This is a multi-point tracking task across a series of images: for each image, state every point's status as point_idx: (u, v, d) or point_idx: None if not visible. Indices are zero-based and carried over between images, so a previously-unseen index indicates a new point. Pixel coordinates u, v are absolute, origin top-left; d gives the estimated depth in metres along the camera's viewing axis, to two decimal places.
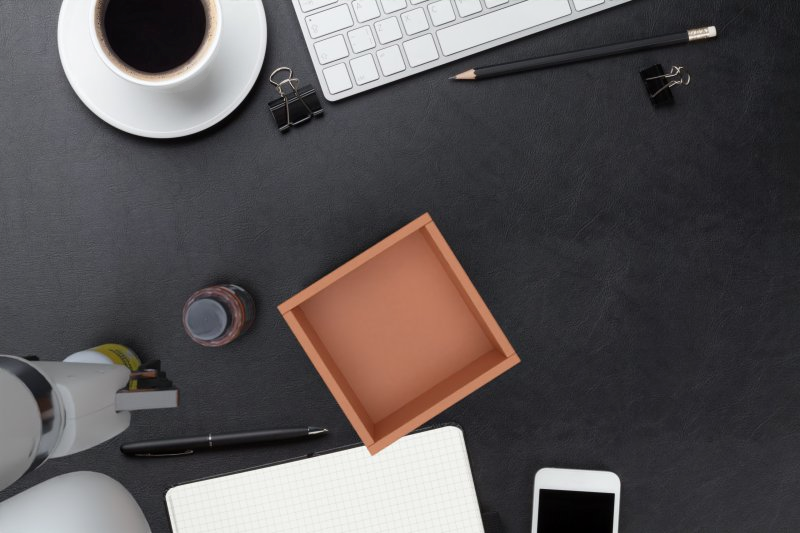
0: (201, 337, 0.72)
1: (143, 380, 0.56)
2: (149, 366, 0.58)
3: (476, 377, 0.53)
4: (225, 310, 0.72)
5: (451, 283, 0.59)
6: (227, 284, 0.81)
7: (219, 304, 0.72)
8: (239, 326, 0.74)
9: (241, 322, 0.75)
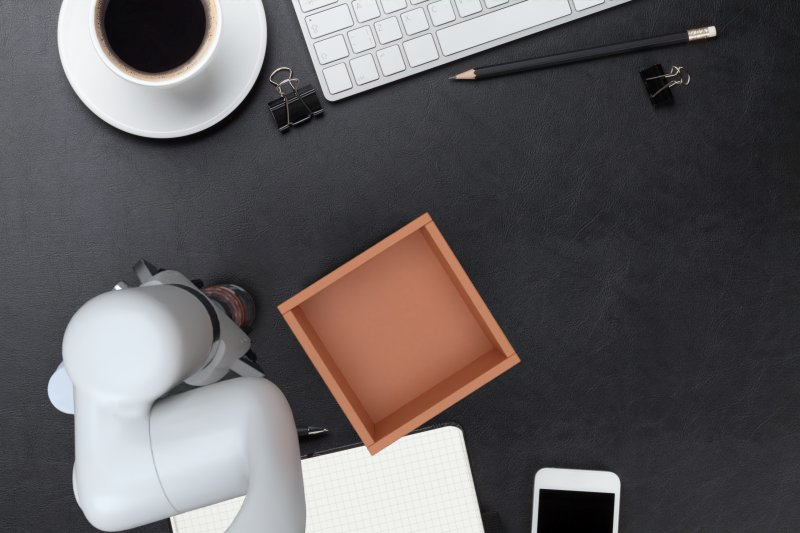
0: None
1: None
2: None
3: (476, 377, 0.53)
4: (225, 310, 0.72)
5: (451, 283, 0.59)
6: (227, 284, 0.81)
7: (219, 304, 0.72)
8: (239, 326, 0.74)
9: (241, 322, 0.75)
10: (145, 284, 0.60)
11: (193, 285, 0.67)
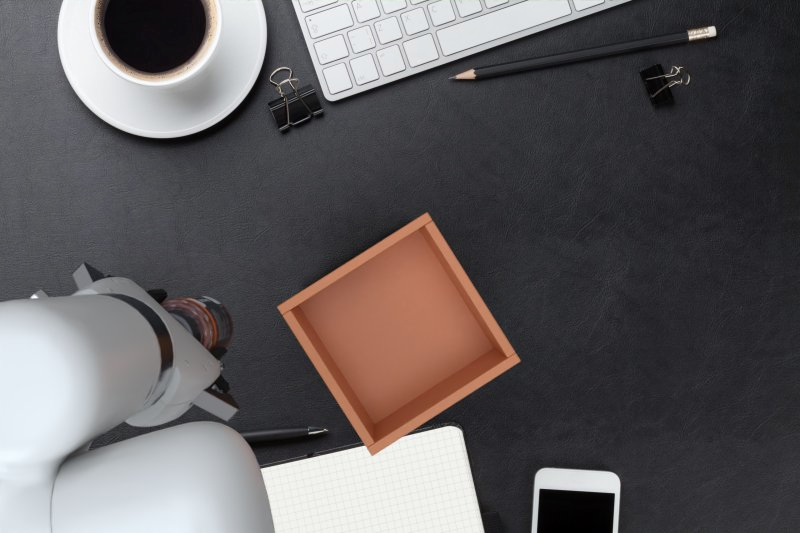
0: None
1: None
2: (219, 355, 0.59)
3: (476, 377, 0.53)
4: (191, 327, 0.58)
5: (451, 283, 0.59)
6: None
7: (183, 319, 0.58)
8: (210, 347, 0.60)
9: (212, 342, 0.60)
10: (76, 294, 0.45)
11: (147, 296, 0.53)
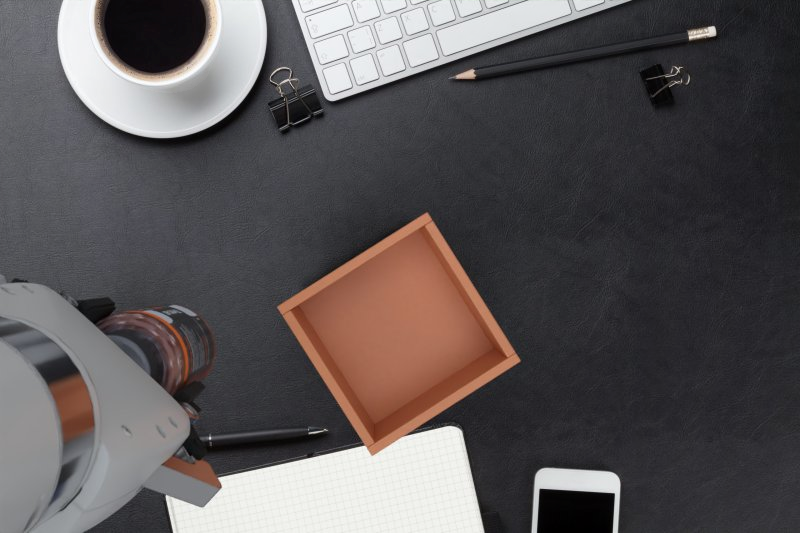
0: None
1: None
2: (191, 398, 0.39)
3: (476, 377, 0.53)
4: (147, 356, 0.38)
5: (451, 283, 0.59)
6: (166, 304, 0.47)
7: (135, 345, 0.38)
8: (178, 384, 0.40)
9: (182, 376, 0.41)
10: None
11: (71, 312, 0.33)
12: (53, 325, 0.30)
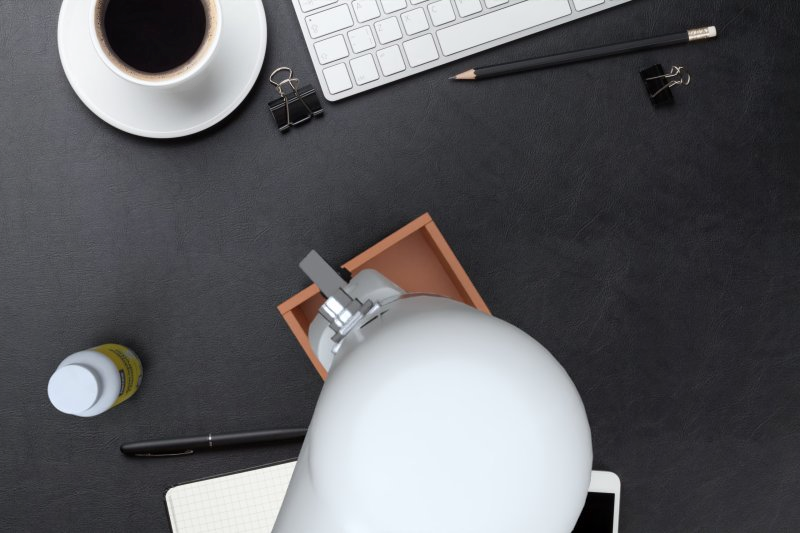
0: None
1: None
2: None
3: None
4: None
5: (451, 283, 0.59)
6: None
7: None
8: None
9: None
10: (367, 294, 0.32)
11: None
12: None
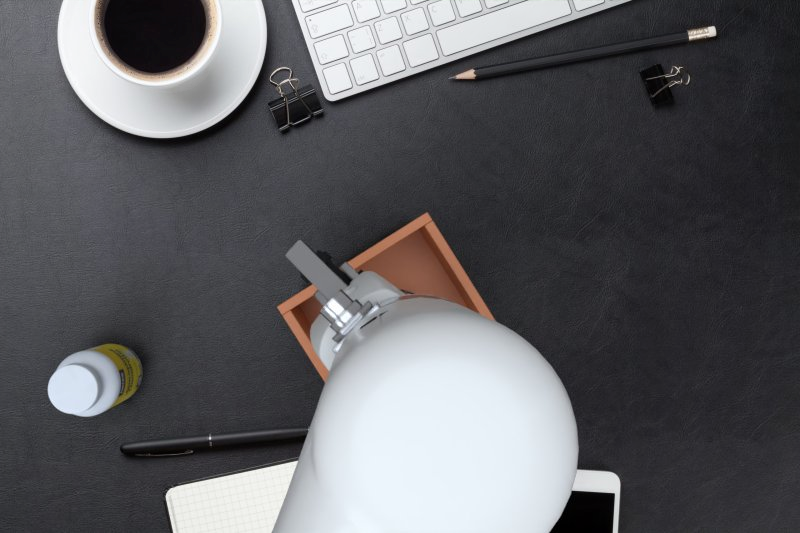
0: None
1: None
2: None
3: None
4: None
5: (451, 283, 0.59)
6: (400, 289, 0.57)
7: None
8: None
9: None
10: (367, 296, 0.33)
11: None
12: None
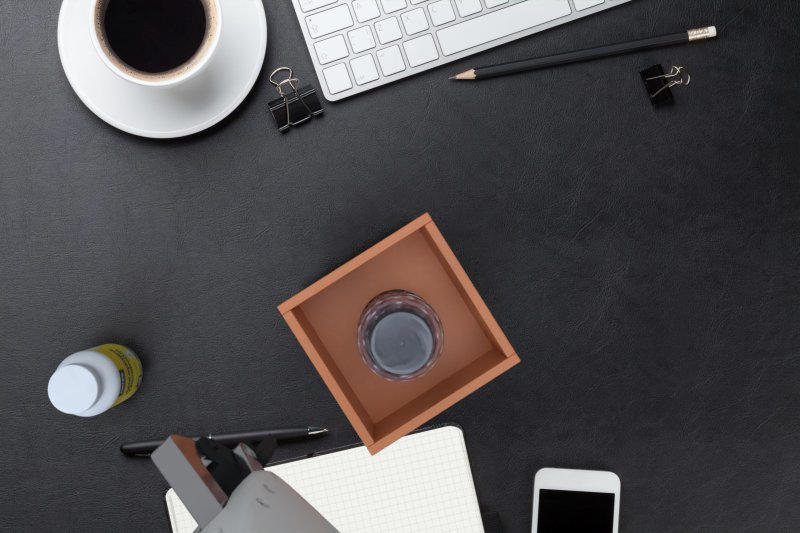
0: (395, 370, 0.48)
1: None
2: None
3: (476, 377, 0.53)
4: (429, 329, 0.48)
5: (451, 283, 0.59)
6: (400, 289, 0.57)
7: (421, 320, 0.48)
8: (440, 352, 0.50)
9: None
10: None
11: (302, 505, 0.33)
12: None
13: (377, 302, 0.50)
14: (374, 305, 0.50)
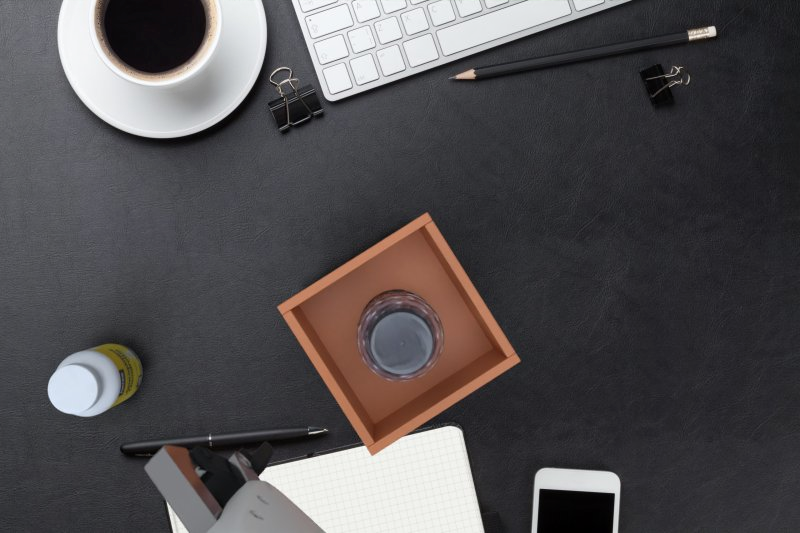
0: (395, 370, 0.48)
1: None
2: None
3: (476, 377, 0.53)
4: (429, 329, 0.48)
5: (451, 283, 0.59)
6: None
7: (421, 320, 0.48)
8: (440, 352, 0.50)
9: (442, 346, 0.51)
10: None
11: (297, 515, 0.32)
12: None
13: (377, 302, 0.50)
14: (374, 305, 0.50)
